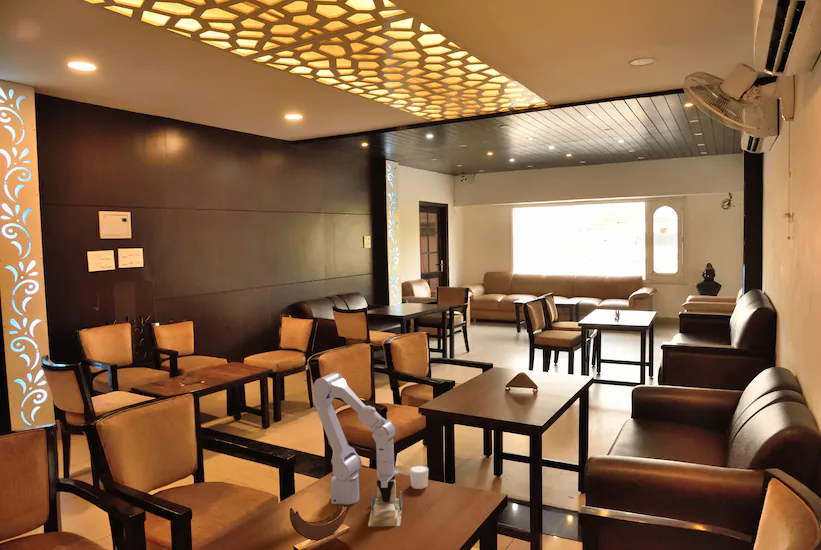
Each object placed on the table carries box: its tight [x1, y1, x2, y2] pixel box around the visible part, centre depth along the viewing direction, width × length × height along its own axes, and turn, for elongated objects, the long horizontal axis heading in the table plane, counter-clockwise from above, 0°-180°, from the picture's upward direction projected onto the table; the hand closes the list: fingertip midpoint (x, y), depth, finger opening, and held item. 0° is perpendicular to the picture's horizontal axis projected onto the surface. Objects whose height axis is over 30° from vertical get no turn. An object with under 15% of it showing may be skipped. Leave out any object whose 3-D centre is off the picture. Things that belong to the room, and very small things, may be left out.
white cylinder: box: [409, 465, 429, 490], centre depth 198 cm, size 7×7×7 cm
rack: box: [367, 490, 403, 527], centre depth 178 cm, size 10×16×5 cm, turn 178°
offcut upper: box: [374, 504, 396, 518], centre depth 174 cm, size 6×4×2 cm
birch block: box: [376, 479, 397, 504], centre depth 183 cm, size 6×3×8 cm, turn 88°
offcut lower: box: [371, 510, 398, 524], centre depth 174 cm, size 8×5×2 cm, turn 88°
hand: (386, 499), depth 183 cm, fingers closed on birch block, 3 cm apart
